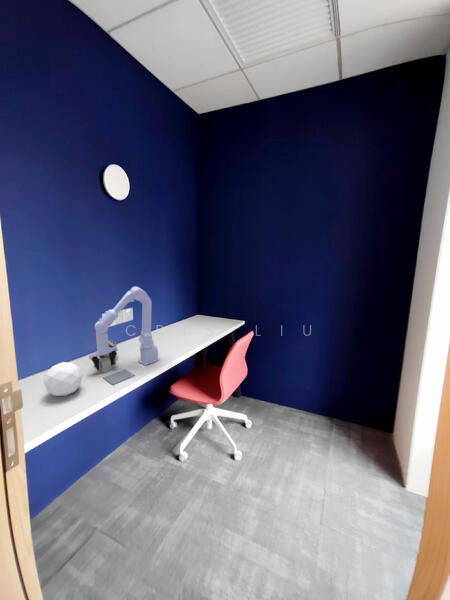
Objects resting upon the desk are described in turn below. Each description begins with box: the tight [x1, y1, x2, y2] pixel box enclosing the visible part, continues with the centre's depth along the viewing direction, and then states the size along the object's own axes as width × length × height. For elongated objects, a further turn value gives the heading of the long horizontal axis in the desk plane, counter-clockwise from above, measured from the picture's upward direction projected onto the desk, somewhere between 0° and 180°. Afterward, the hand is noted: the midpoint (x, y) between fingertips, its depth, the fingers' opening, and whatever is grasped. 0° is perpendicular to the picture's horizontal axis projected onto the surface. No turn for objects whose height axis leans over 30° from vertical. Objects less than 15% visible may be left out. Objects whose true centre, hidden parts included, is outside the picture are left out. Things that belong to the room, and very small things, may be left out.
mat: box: [102, 368, 136, 386], centre depth 130 cm, size 12×10×1 cm
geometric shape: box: [43, 361, 83, 397], centre depth 114 cm, size 14×15×15 cm
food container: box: [96, 340, 117, 359], centre depth 151 cm, size 12×6×10 cm, turn 74°
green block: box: [98, 357, 112, 374], centre depth 137 cm, size 4×4×6 cm
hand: (104, 367), depth 137 cm, fingers open, 7 cm apart
